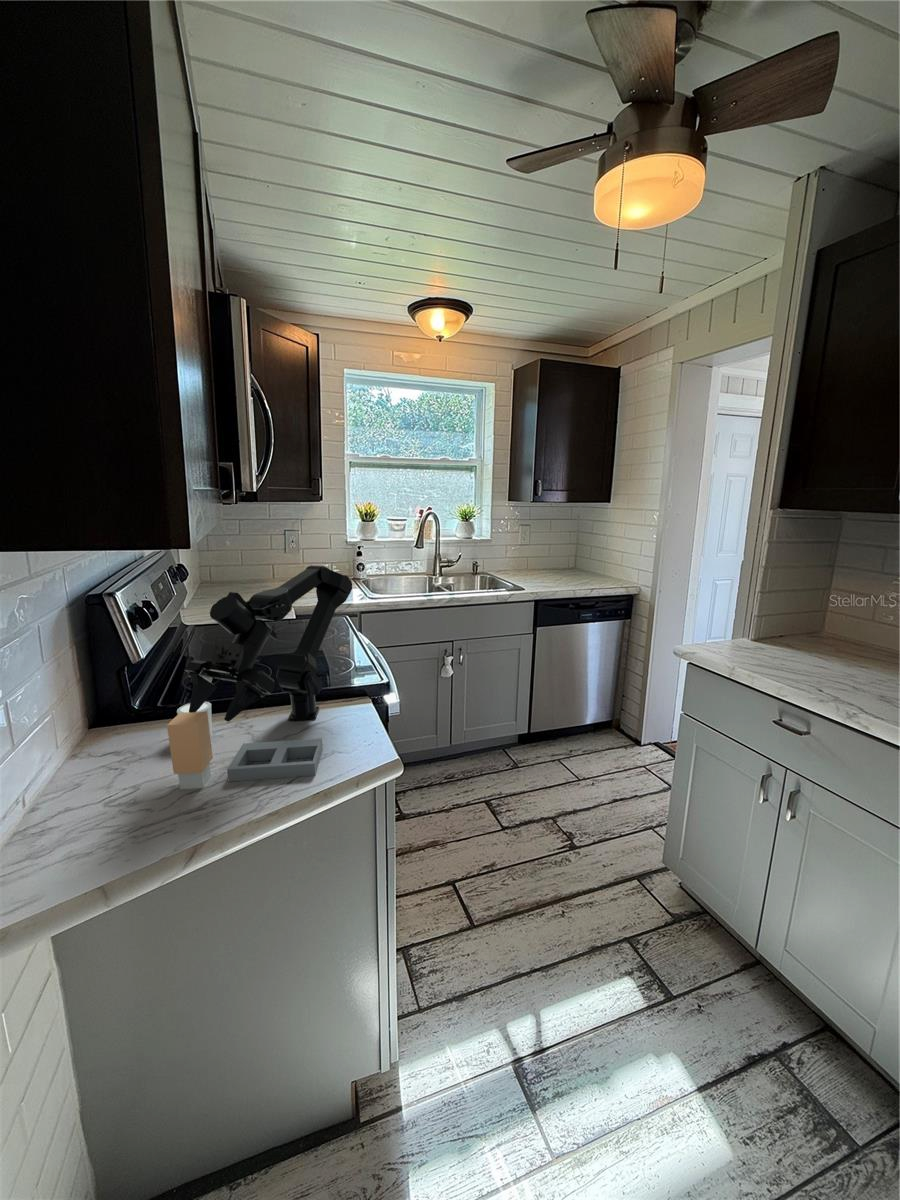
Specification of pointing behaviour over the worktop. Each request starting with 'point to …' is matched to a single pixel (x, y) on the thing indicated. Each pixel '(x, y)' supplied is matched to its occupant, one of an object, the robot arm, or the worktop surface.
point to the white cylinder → (204, 708)
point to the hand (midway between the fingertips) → (208, 716)
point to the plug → (190, 749)
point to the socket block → (275, 760)
